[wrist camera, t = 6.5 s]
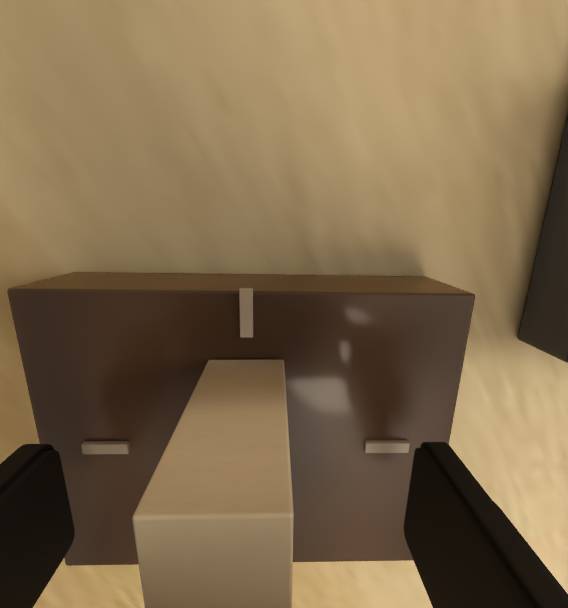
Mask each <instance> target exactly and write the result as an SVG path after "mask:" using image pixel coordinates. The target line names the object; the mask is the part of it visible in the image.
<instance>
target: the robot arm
mask: <svg viewBox="0 0 568 608" xmlns="http://www.w3.org/2000/svg"><path fill="white" fill-rule="evenodd" d="M74 535H75V528H74V523H73V518H72V513H71V508H70V503H69V498H68V493H67V488H66V483H65V478H64V473H63V468H62V463H61V458H60V454H59V452H58V451H57V450H54V447H53V446H52V445H50V444H26V445H23V446H21V447H20V448H18V449H17V450H16V451H15V452H14V453H13V454H11V455H10V456H9V457H8V458H7V459H6V460H5V461H4V462H2V463H1V464H0V608H33V606H34V604H35V603H36V601H37V600H38V598H39V597H40V595H41V593H42V592H43V590H44V589H45V587H46V585H47V584H48V582H49V581H50V579H51V577H52V576H53V574H54V573H55V571H56V569H57V568H58V566H59V565H60V563H61V562H62V560H63V558H64V557H65V555H66V554H67V552H68V550H69V549H70V547H71V545H72V542H73V540H74ZM404 535H405V539H406V542H407V545H408V548H409V550H410V552H411V555H412V557H413V560H414V562H415V565H416V567H417V569H418V572H419V574H420V577H421V579H422V582H423V584H424V586H425V589H426V591H427V594H428V596H429V599H430V601H431V604H432V606H433V608H568V594H567V593H566V592H565V590H564V589H563V588H562V586H561V585H560V584H559V583H558V581H557V580H556V579H555V578H554V576H553V575H552V574H551V572H550V571H549V570H548V569H547V567H546V566H545V565H544V564H543V562H542V561H541V560H540V558H539V557H538V556H537V555H536V553H535V552H534V551H533V550H532V548H531V547H530V546H529V545H528V543H527V542H526V541H525V539H524V538H523V537H522V536H521V534H520V533H519V532H518V531H517V529H516V528H515V527H514V525H513V524H512V523H511V522H510V520H509V519H508V518H507V517H506V515H505V514H504V513H503V511H502V510H501V509H500V508H499V507H498V506H497V505H496V504H495V502H493V501H492V500H491V498H490V497H489V496H488V494H487V493H486V492H485V491H484V489H483V488H482V487H481V485H480V484H479V483H478V482H477V480H476V479H475V478H474V477H473V475H472V474H471V473H470V471H469V470H468V469H467V468H466V466H465V465H464V464H463V462H462V461H461V460H460V459H459V457H458V456H457V455H456V453H455V452H454V451H453V450H452V448H451V447H450V446H449V445H448V444H447V443H445V442H423V443H422V444H421V446H420V448H416V449H415V452H414V458H413V465H412V472H411V479H410V485H409V492H408V499H407V506H406V513H405V519H404Z"/></svg>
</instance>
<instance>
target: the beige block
mask: <svg viewBox="0 0 568 608" xmlns="http://www.w3.org/2000/svg"><path fill="white" fill-rule="evenodd" d="M132 521H133V528H134V535H135V542H136V549H137V556H138V562H139V569H140V576H141V583H142V590H143V597H144V603H145V608H292V569H293V523H294V512H293V496H292V480H291V464H290V448H289V432H288V416H287V400H286V384H285V368H284V360H208V362H207V364H206V367H205V369H204V371H203V373H202V375H201V377H200V379H199V381H198V383H197V385H196V387H195V389H194V391H193V393H192V395H191V397H190V400H189V402H188V404H187V406H186V408H185V410H184V412H183V414H182V416H181V418H180V420H179V422H178V424H177V426H176V428H175V430H174V432H173V435H172V437H171V439H170V441H169V443H168V445H167V447H166V449H165V451H164V453H163V455H162V457H161V459H160V461H159V463H158V465H157V468H156V470H155V472H154V474H153V476H152V478H151V480H150V482H149V484H148V486H147V488H146V490H145V492H144V494H143V496H142V498H141V500H140V503H139V505H138V507H137V509H136V511H135V513H134V515H133V517H132Z"/></svg>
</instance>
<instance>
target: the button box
mask: <svg viewBox="0 0 568 608" xmlns="http://www.w3.org/2000/svg"><path fill="white" fill-rule="evenodd" d="M518 339H519V340H521V341H523V342H525V343H527V344H529V345H531V346H534V347H536V348H538V349H540V350H542V351H544V352H546V353H548V354H550V355H552V356H554V357H556V358H558V359H561V360H563V361H565V362H568V117H567V121H566V126H565V130H564V135H563V139H562V144H561V148H560V153H559V157H558V162H557V166H556V171H555V175H554V180H553V184H552V188H551V193H550V197H549V202H548V206H547V211H546V215H545V220H544V224H543V229H542V233H541V238H540V242H539V247H538V251H537V256H536V260H535V264H534V269H533V273H532V278H531V282H530V287H529V291H528V296H527V300H526V305H525V309H524V314H523V318H522V323H521V327H520V332H519V336H518Z"/></svg>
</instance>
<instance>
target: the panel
mask: <svg viewBox="0 0 568 608" xmlns="http://www.w3.org/2000/svg"><path fill="white" fill-rule="evenodd" d="M7 292H8V297H9V301H10V306H11V311H12V315H13V320H14V325H15V329H16V334H17V339H18V343H19V348H20V353H21V357H22V362H23V367H24V371H25V376H26V381H27V385H28V390H29V395H30V399H31V404H32V409H33V413H34V418H35V423H36V427H37V432H38V437H39V441H40V444H50V445H52V446H53V447H54V450H57V451H58V452H59V454H60V458H61V463H62V468H63V473H64V478H65V483H66V488H67V493H68V498H69V503H70V508H71V513H72V518H73V523H74V528H75V535H74V540H73V542H72V545H71V547H70V549H69V550H68V552H67V554H66V555H65V557H64V558H65V563H66V565H133V564H139V562H138V556H137V549H136V542H135V535H134V528H133V521H132V517H133V515H134V513H135V511H136V509H137V507H138V505H139V503H140V500H141V498H142V496H143V494H144V492H145V490H146V488H147V486H148V484H149V482H150V480H151V478H152V476H153V474H154V472H155V470H156V468H157V465H158V463H159V461H160V459H161V457H162V455H163V453H164V451H165V449H166V447H167V445H168V443H169V441H170V439H171V437H172V435H173V432H174V430H175V428H176V426H177V424H178V422H179V420H180V418H181V416H182V414H183V412H184V410H185V408H186V406H187V404H188V402H189V400H190V397H191V395H192V393H193V391H194V389H195V387H196V385H197V383H198V381H199V379H200V377H201V375H202V373H203V371H204V369H205V367H206V364H207V362H208V360H284V368H285V384H286V400H287V416H288V432H289V448H290V464H291V480H292V496H293V512H294V523H293V562H331V561H397V560H413V557H412V555H411V552H410V550H409V548H408V545H407V542H406V539H405V535H404V519H405V513H406V506H407V499H408V492H409V485H410V479H411V472H412V465H413V458H414V452H415V449H416V448H420V446H421V444H422V443H423V442H445V443H447V444H449V439H450V433H451V428H452V422H453V417H454V411H455V405H456V400H457V394H458V389H459V383H460V378H461V372H462V366H463V361H464V355H465V350H466V344H467V339H468V333H469V327H470V322H471V316H472V311H473V305H474V300H475V295H474V294H472V293H469V292H467V291H464V290H461V289H458V288H456V287H453V286H450V285H447V284H444V283H442V282H439V281H436V280H433V279H431V278H428V277H412V276H336V275H261V274H185V273H110V272H74V273H70V274H66V275H62V276H58V277H54V278H50V279H46V280H41V281H37V282H33V283H29V284H25V285H21V286H17V287H13V288H10V289H8V291H7Z"/></svg>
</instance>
